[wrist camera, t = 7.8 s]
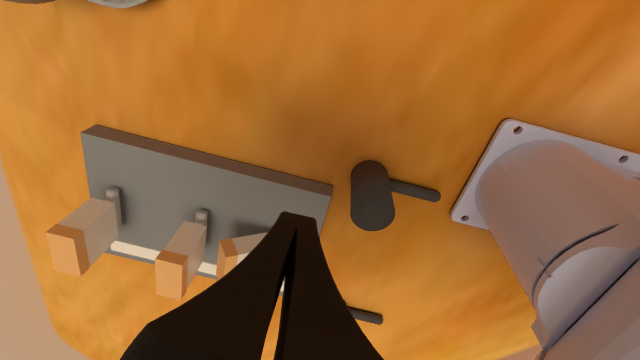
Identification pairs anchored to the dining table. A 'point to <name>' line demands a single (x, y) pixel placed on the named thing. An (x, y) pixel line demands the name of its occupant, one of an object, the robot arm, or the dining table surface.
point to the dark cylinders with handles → (378, 206)
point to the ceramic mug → (105, 0)
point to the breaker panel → (190, 194)
